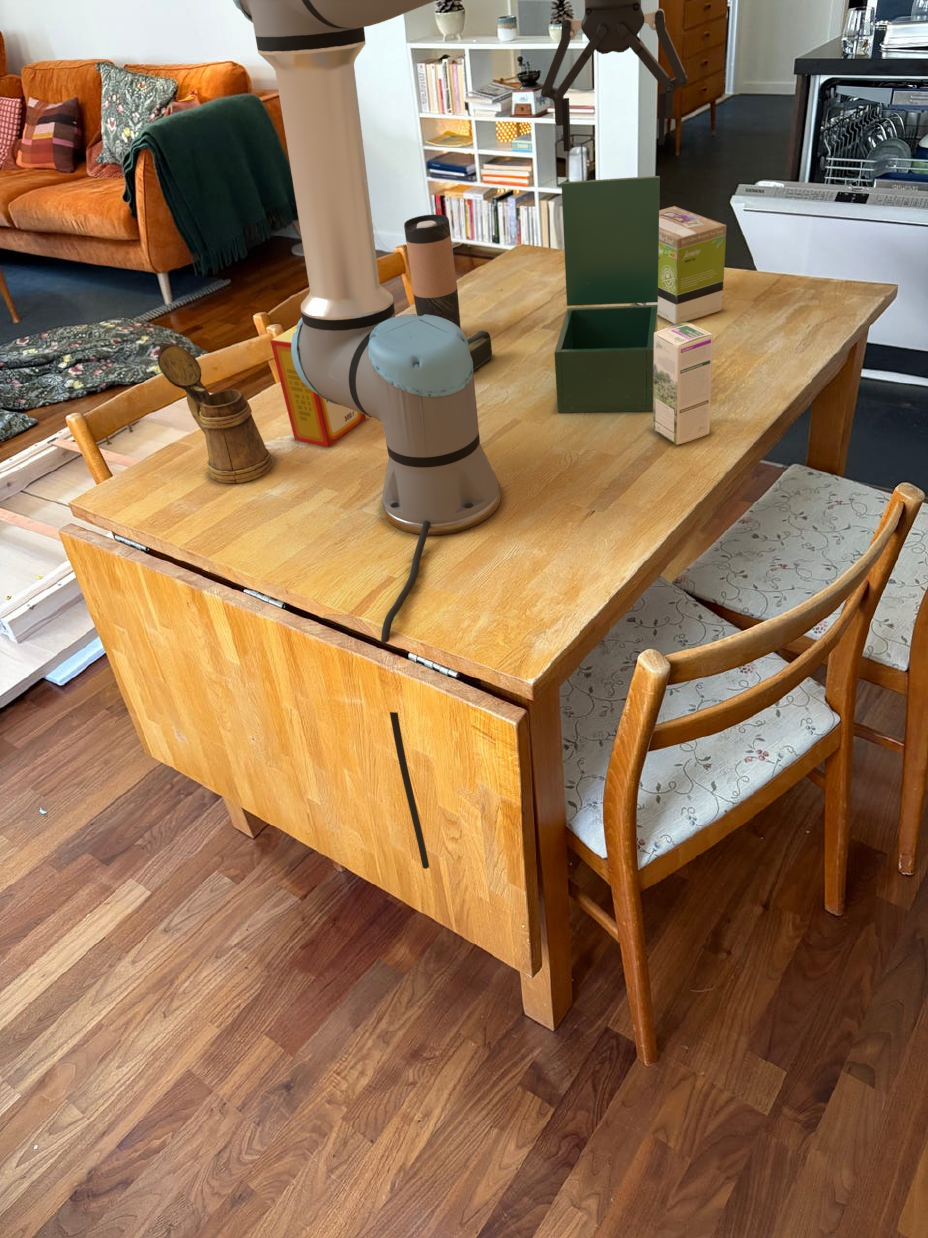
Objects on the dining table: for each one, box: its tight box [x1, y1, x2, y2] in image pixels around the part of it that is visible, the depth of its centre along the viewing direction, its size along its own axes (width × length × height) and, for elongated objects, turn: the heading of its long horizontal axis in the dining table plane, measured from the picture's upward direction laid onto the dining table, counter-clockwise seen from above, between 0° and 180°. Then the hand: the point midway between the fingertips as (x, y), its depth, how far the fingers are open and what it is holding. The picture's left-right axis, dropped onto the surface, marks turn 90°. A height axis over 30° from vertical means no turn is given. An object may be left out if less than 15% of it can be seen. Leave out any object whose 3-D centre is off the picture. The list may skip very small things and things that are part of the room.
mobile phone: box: [466, 330, 493, 372], centre depth 155 cm, size 5×3×15 cm
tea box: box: [636, 205, 727, 325], centre depth 164 cm, size 15×10×15 cm, turn 25°
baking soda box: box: [270, 324, 367, 448], centre depth 140 cm, size 10×6×16 cm
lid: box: [561, 175, 661, 307], centre depth 144 cm, size 18×14×8 cm
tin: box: [554, 304, 659, 414], centre depth 143 cm, size 17×14×9 cm
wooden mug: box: [157, 342, 274, 484], centre depth 134 cm, size 9×14×18 cm, turn 59°
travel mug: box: [403, 214, 462, 330], centre depth 163 cm, size 8×8×20 cm
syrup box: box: [653, 321, 714, 446], centre depth 128 cm, size 6×6×14 cm
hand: (613, 146), depth 139 cm, fingers open, 13 cm apart
